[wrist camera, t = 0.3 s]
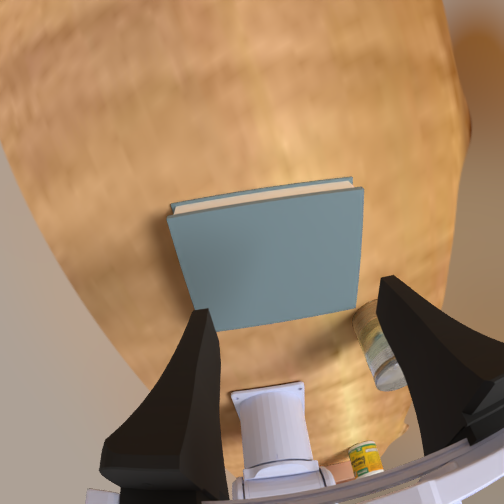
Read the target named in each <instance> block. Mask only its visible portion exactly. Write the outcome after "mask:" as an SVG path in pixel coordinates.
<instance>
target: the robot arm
mask: <svg viewBox="0 0 504 504" xmlns="http://www.w3.org/2000/svg"><path fill="white" fill-rule="evenodd" d="M376 315H377V318H378V321H379V324H380V326H381V329H382V332H383V334H384V336H385V338H386V340H387V342H388V344H389V346H390V348H391V350H392V352H393V354H394V356H395V358H396V360H397V362H398V364H399V366H400V368H401V370H402V372H403V375H404V377H405V380H406V382H407V385H408V388H409V391H410V394H411V398H412V401H413V404H414V408H415V412H416V415H417V420H418V424H419V428H420V433H421V438H422V444H423V450H424V457H422V458H420V459H417V460H414V461H412V462H409V463H406V464H404V465H401V466H398V467H395V468H392V469H389V470H386V471H383V472H380V473H377V474H373V475H370V476H366V477H363V478H359V479H356V480H352V481H348V482H344V483H340V484H336V483H335V480H334V477H333V475H332V473H331V472H330V471H329V470H328V469H326V468H325V467H324V466H321V467H319V466H318V461H317V460H313V456H312V451H311V446H310V441H309V437H308V432H307V427H306V422H305V417H304V383H303V382H295V383H290V384H284V385H278V386H272V387H265V388H258V389H251V390H243V391H235V392H232V393H231V398H232V401H233V403H234V406H235V408H236V411H237V414H238V416H239V419H240V421H241V433H242V445H243V456H244V467H245V469H243V475H244V480H243V477H237V478H236V480H235V481H234V482H233V485H232V496H233V500H230V499H229V493H228V487H227V481H226V474H225V466H224V459H223V450H222V441H221V430H220V418H219V402H220V373H221V359H220V347H219V340H218V337H217V333H216V330H215V327H214V324H213V321H212V318H211V315H210V311H209V308H206V309H199V310H194V311H193V312H192V314H191V316H190V319H189V322H188V324H187V326H186V329H185V331H184V333H183V336H182V338H181V340H180V342H179V344H178V346H177V348H176V350H175V352H174V354H173V356H172V358H171V360H170V362H169V364H168V365H167V367H166V369H165V371H164V372H163V374H162V376H161V377H160V379H159V380H158V382H157V383H156V385H155V386H154V388H153V389H152V390H151V392H150V393H149V394H148V396H147V397H146V398H145V400H144V401H143V402H142V403H141V405H140V406H139V407H138V408H137V409H136V410H135V411H134V412H133V414H132V415H131V416H130V417H129V418H128V419H127V420H126V421H125V422H124V423H123V424H122V425H121V426H120V427H119V428H118V429H117V430H116V431H115V432H114V433H112V434H111V435H110V436H109V437H108V438H107V439H106V440H105V442H104V446H103V449H102V454H101V461H100V468H99V471H100V473H101V475H102V476H104V477H105V478H106V479H108V480H109V481H111V482H113V483H114V484H116V485H118V486H120V487H121V492H120V494H119V493H116V492H111V491H104V490H97V489H91V488H89V489H87V494H86V503H85V504H338V503H340V502H344V501H348V500H352V499H356V498H359V497H362V496H366V495H369V494H373V493H376V492H379V491H382V490H385V489H388V488H391V487H394V486H397V485H400V484H403V483H406V482H408V481H411V480H414V479H416V478H419V477H421V476H423V477H421V478H420V480H419V482H417V483H416V484H414V485H411V486H408V487H406V488H403V489H400V490H398V491H395V492H392V493H388V494H385V495H382V496H379V497H376V498H372V499H369V500H366V501H362V502H359V503H355V504H462V502H461V500H463V499H465V498H467V497H469V496H471V495H473V494H474V493H476V492H478V491H480V490H481V489H483V488H485V487H487V486H488V485H490V484H492V483H493V482H495V481H496V480H498V479H499V478H501V477H503V476H504V343H503V342H500V341H497V340H495V339H492V338H490V337H487V336H485V335H483V334H481V333H479V332H477V331H474V330H472V329H470V328H468V327H467V326H465V325H463V324H461V323H460V322H458V321H456V320H455V319H453V318H451V317H450V316H448V315H447V314H445V313H444V312H442V311H441V310H439V309H438V308H436V307H435V306H434V305H432V304H431V303H429V302H428V301H427V300H425V299H424V298H423V297H421V296H420V295H419V294H418V293H416V292H415V291H414V290H412V289H411V288H410V287H409V286H407V285H406V284H405V283H403V282H402V281H401V280H400V279H398V278H397V277H395V276H394V275H391V276H387V277H382V278H381V280H380V287H379V294H378V301H377V307H376ZM426 474H427V475H426ZM424 475H425V476H424Z"/></svg>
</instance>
